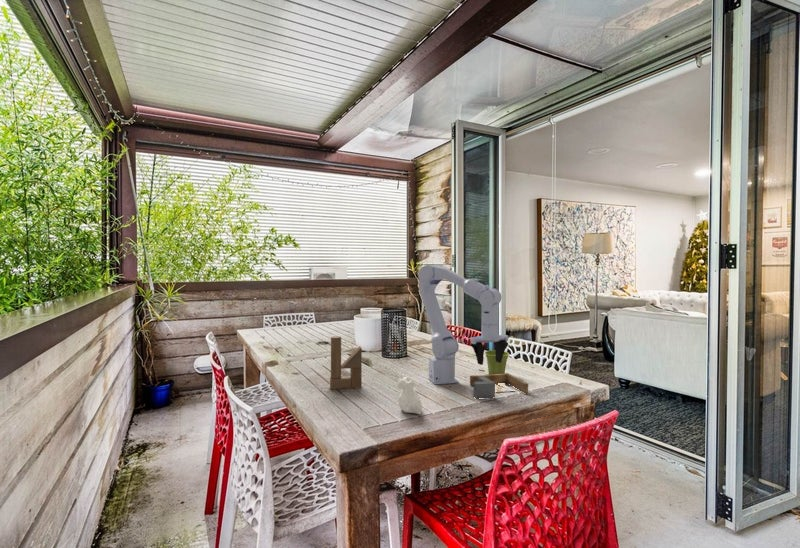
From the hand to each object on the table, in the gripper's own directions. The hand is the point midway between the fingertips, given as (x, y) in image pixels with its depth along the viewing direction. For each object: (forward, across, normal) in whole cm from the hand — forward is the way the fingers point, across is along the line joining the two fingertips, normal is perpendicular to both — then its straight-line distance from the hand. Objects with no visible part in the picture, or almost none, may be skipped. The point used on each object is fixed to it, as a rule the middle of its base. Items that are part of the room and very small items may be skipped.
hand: (489, 363), depth 141 cm
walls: (+10, +3, 0) cm, 10 cm away
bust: (+10, -34, -7) cm, 36 cm away
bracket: (+10, -6, -3) cm, 11 cm away
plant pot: (+10, +15, +16) cm, 24 cm away
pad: (+10, +4, +1) cm, 10 cm away
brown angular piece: (+10, -45, +22) cm, 51 cm away
